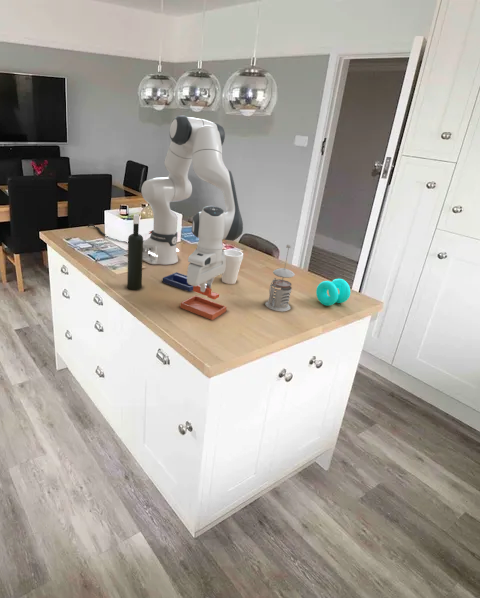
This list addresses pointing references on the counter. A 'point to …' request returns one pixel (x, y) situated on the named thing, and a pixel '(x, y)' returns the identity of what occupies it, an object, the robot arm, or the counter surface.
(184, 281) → the blue stepped block
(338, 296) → the donuts
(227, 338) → the counter surface
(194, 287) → the orange red stepped block
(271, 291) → the french press
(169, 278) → the navy tray
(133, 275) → the wine bottle
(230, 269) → the foam cup
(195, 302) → the terracotta tray
